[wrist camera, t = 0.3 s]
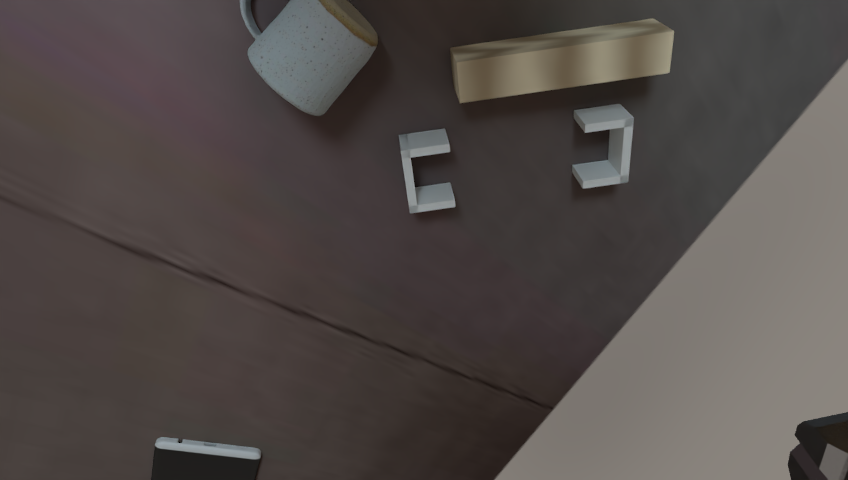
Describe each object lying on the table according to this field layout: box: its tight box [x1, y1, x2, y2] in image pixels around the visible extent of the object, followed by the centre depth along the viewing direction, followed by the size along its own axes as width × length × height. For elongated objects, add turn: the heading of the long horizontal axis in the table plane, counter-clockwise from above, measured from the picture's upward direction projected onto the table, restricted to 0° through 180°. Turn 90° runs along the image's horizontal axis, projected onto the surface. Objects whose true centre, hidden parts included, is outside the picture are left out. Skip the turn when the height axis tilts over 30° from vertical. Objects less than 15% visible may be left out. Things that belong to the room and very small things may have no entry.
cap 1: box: [399, 128, 456, 213], centre depth 57 cm, size 4×7×4 cm
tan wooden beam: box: [450, 19, 674, 103], centre depth 51 cm, size 18×4×4 cm, turn 97°
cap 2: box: [572, 104, 634, 189], centre depth 57 cm, size 4×7×4 cm
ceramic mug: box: [240, 0, 378, 116], centre depth 47 cm, size 11×8×8 cm
